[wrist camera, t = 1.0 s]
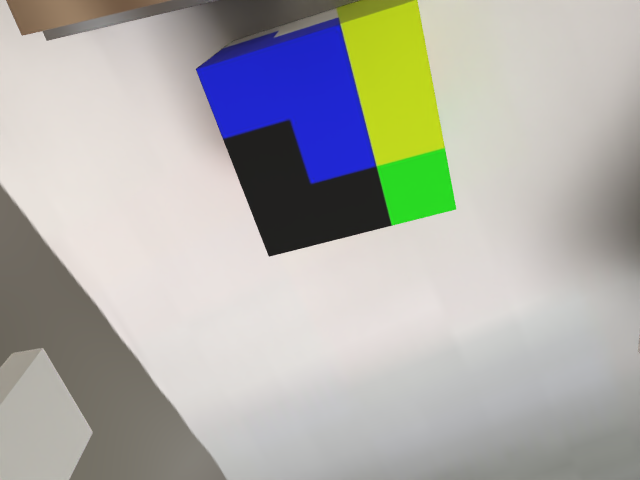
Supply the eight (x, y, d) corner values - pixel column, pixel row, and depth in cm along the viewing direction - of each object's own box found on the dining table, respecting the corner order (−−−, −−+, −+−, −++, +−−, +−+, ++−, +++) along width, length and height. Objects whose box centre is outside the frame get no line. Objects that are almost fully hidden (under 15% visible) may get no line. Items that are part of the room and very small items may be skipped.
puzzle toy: (232, 41, 32) (195, 69, 23) (390, -10, 30) (417, -1, 22) (283, 186, 36) (268, 256, 27) (423, 148, 35) (456, 209, 26)
